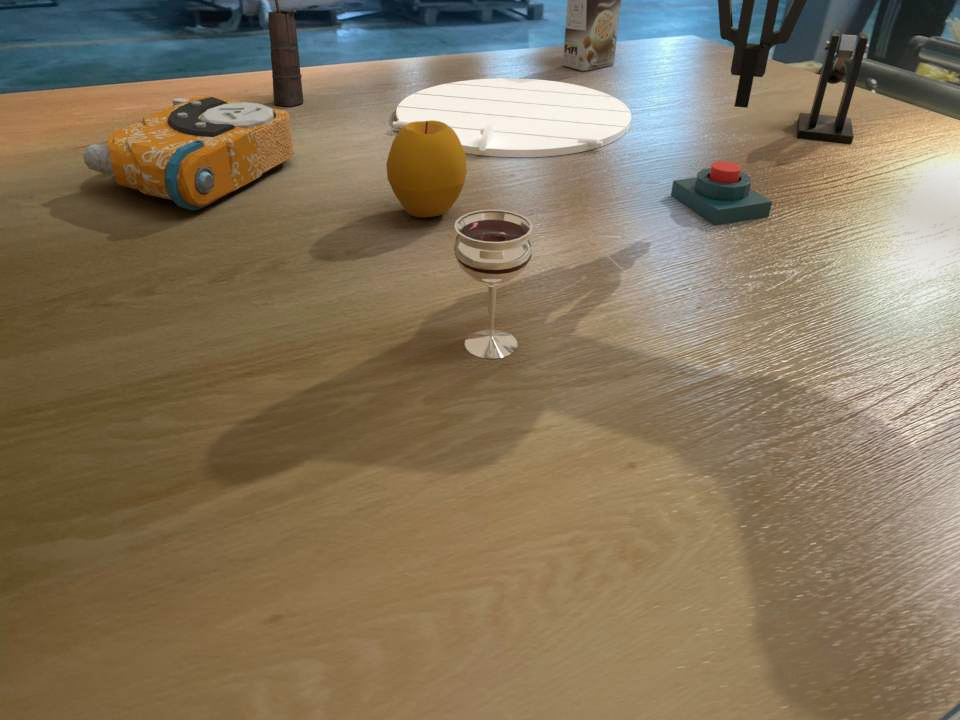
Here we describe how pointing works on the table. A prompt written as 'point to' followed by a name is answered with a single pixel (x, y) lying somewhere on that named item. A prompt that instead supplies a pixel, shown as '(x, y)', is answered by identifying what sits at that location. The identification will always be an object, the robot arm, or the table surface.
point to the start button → (725, 172)
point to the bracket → (839, 125)
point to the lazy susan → (520, 116)
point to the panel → (721, 199)
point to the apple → (426, 168)
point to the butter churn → (285, 58)
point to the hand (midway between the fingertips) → (741, 103)
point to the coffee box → (591, 33)
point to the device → (196, 149)
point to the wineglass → (492, 266)
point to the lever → (842, 58)
